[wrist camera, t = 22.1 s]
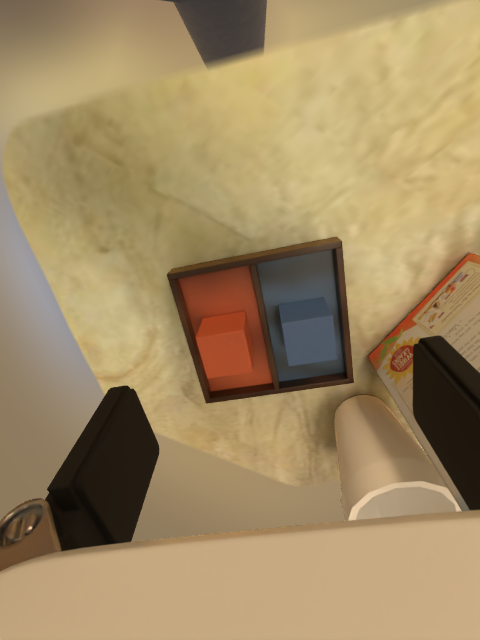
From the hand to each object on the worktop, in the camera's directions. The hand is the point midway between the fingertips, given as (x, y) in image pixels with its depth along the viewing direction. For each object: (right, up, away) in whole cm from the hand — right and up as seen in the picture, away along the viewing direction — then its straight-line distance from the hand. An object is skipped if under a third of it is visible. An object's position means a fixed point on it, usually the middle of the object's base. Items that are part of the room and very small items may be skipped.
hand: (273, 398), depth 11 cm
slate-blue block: (+5, +2, +23) cm, 24 cm away
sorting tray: (+2, +2, +24) cm, 24 cm away
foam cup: (+13, -9, +29) cm, 33 cm away
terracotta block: (-2, +1, +24) cm, 24 cm away
